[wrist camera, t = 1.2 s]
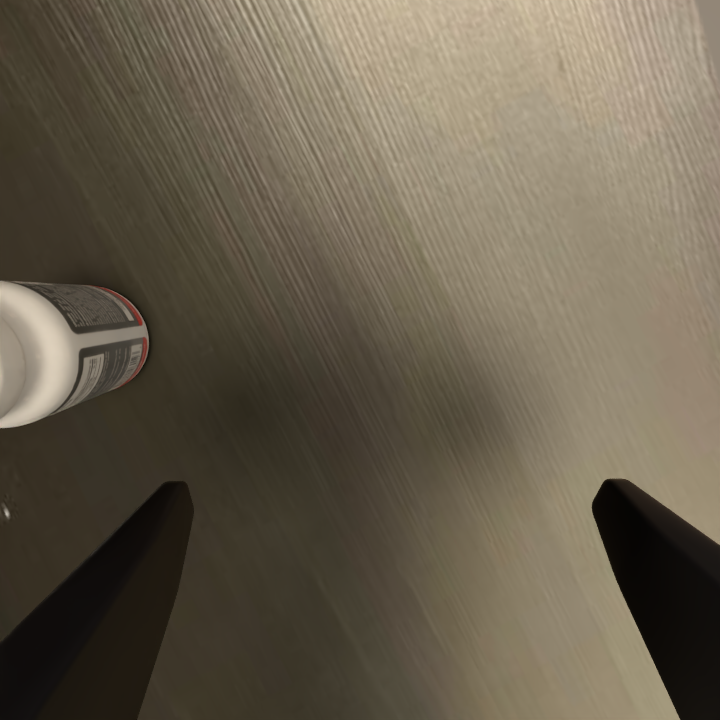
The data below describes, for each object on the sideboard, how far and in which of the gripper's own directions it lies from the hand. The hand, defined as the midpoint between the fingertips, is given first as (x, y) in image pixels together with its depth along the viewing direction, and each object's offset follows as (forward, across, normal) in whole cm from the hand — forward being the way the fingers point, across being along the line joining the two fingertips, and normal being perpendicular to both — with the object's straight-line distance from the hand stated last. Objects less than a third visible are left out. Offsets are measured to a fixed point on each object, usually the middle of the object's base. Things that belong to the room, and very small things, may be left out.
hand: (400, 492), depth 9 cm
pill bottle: (+14, +14, +5) cm, 21 cm away
